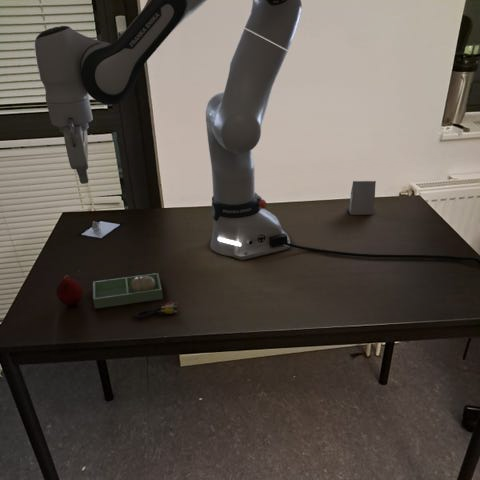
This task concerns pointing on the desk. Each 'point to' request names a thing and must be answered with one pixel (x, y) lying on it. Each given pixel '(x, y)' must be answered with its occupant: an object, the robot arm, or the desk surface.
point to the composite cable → (158, 310)
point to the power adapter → (100, 229)
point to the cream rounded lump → (143, 284)
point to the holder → (123, 292)
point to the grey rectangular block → (362, 198)
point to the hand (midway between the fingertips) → (84, 175)
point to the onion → (69, 291)
